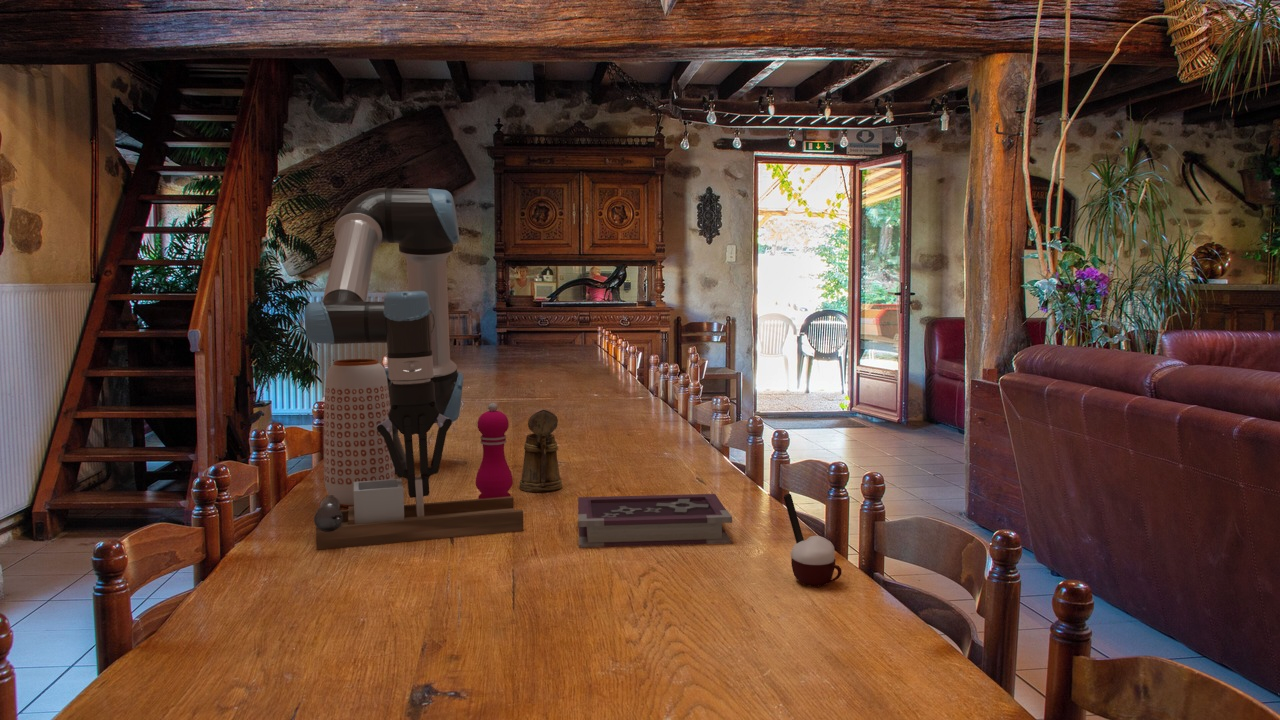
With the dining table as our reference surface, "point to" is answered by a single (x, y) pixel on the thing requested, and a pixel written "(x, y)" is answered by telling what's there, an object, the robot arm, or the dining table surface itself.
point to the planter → (355, 427)
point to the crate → (378, 501)
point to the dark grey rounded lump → (328, 514)
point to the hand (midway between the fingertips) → (420, 514)
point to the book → (652, 520)
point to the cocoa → (810, 554)
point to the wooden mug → (541, 455)
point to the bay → (427, 523)
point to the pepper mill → (493, 455)
